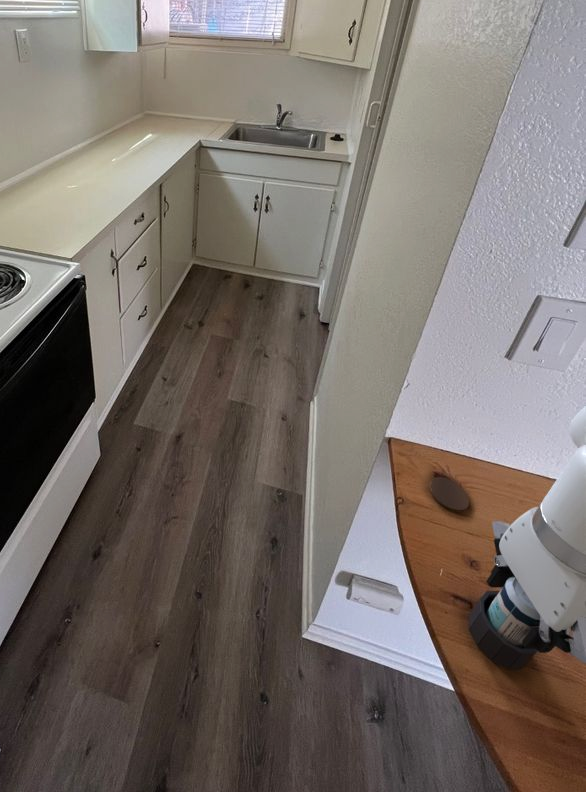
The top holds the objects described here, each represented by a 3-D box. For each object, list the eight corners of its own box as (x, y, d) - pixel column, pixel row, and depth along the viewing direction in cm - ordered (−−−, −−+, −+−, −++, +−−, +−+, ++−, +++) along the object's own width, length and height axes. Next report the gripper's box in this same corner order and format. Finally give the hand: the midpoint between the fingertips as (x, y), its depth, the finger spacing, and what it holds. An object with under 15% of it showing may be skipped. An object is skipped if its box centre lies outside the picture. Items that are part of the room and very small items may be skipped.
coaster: (454, 478, 83) (455, 476, 82) (475, 511, 77) (477, 509, 77) (422, 479, 82) (423, 477, 82) (441, 512, 77) (442, 510, 77)
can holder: (503, 607, 64) (516, 589, 62) (539, 669, 58) (555, 652, 56) (458, 608, 64) (469, 591, 62) (489, 670, 58) (503, 653, 55)
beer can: (525, 649, 60) (562, 606, 54) (502, 665, 58) (538, 622, 53) (491, 611, 64) (523, 567, 58) (469, 625, 62) (499, 581, 57)
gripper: (685, 627, 42) (599, 701, 50) (546, 468, 57) (498, 544, 66) (612, 629, 42) (537, 703, 50) (492, 468, 57) (450, 545, 65)
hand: (515, 612), depth 58 cm, fingers open, 6 cm apart
